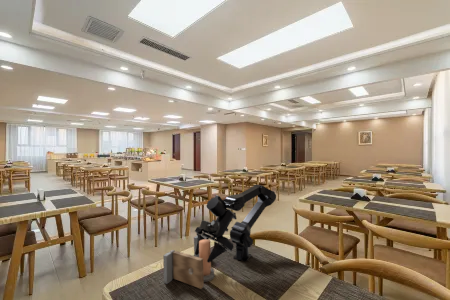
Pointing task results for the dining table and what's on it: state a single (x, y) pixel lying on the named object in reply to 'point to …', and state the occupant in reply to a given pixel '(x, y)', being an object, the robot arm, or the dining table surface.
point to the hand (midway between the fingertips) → (201, 258)
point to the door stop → (204, 254)
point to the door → (187, 269)
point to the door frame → (168, 263)
